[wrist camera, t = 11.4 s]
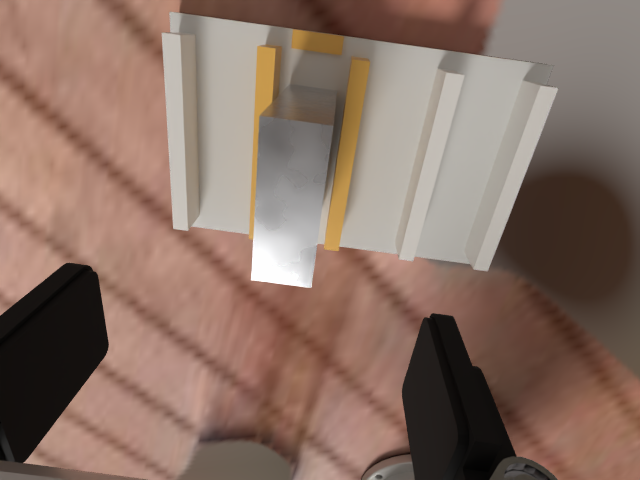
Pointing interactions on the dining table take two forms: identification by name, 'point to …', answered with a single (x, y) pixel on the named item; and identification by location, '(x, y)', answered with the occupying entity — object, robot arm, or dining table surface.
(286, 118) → the panel
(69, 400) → the robot arm
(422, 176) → the rack
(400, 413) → the dining table surface
